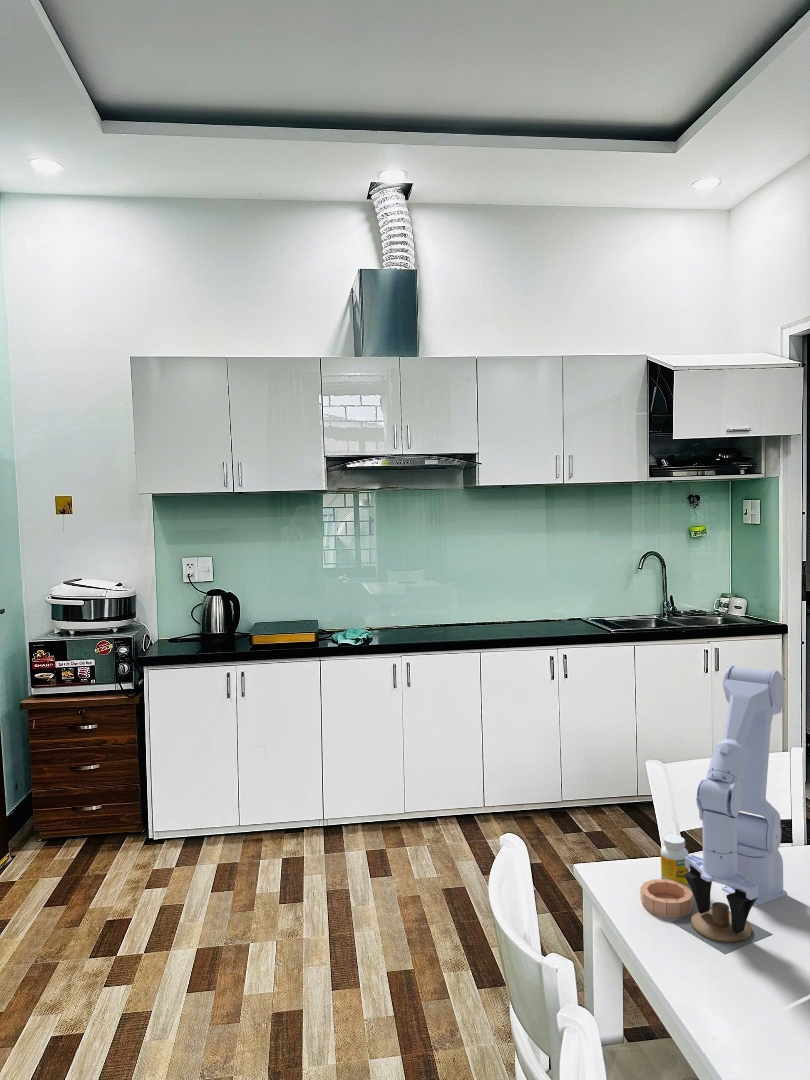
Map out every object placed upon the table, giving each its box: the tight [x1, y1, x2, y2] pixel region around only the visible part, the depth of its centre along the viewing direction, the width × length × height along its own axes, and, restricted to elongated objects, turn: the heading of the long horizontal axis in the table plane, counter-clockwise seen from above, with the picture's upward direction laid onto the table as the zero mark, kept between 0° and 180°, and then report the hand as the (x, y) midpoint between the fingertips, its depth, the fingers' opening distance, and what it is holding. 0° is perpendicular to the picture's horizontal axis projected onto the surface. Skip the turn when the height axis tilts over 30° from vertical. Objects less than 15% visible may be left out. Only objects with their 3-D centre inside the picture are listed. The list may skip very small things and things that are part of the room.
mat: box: [671, 906, 773, 955], centre depth 142 cm, size 12×12×1 cm
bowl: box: [639, 878, 694, 918], centre depth 151 cm, size 9×9×3 cm
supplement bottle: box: [660, 834, 690, 888], centre depth 159 cm, size 5×5×10 cm
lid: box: [691, 901, 751, 943], centre depth 142 cm, size 10×10×4 cm
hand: (720, 921), depth 142 cm, fingers open, 7 cm apart
